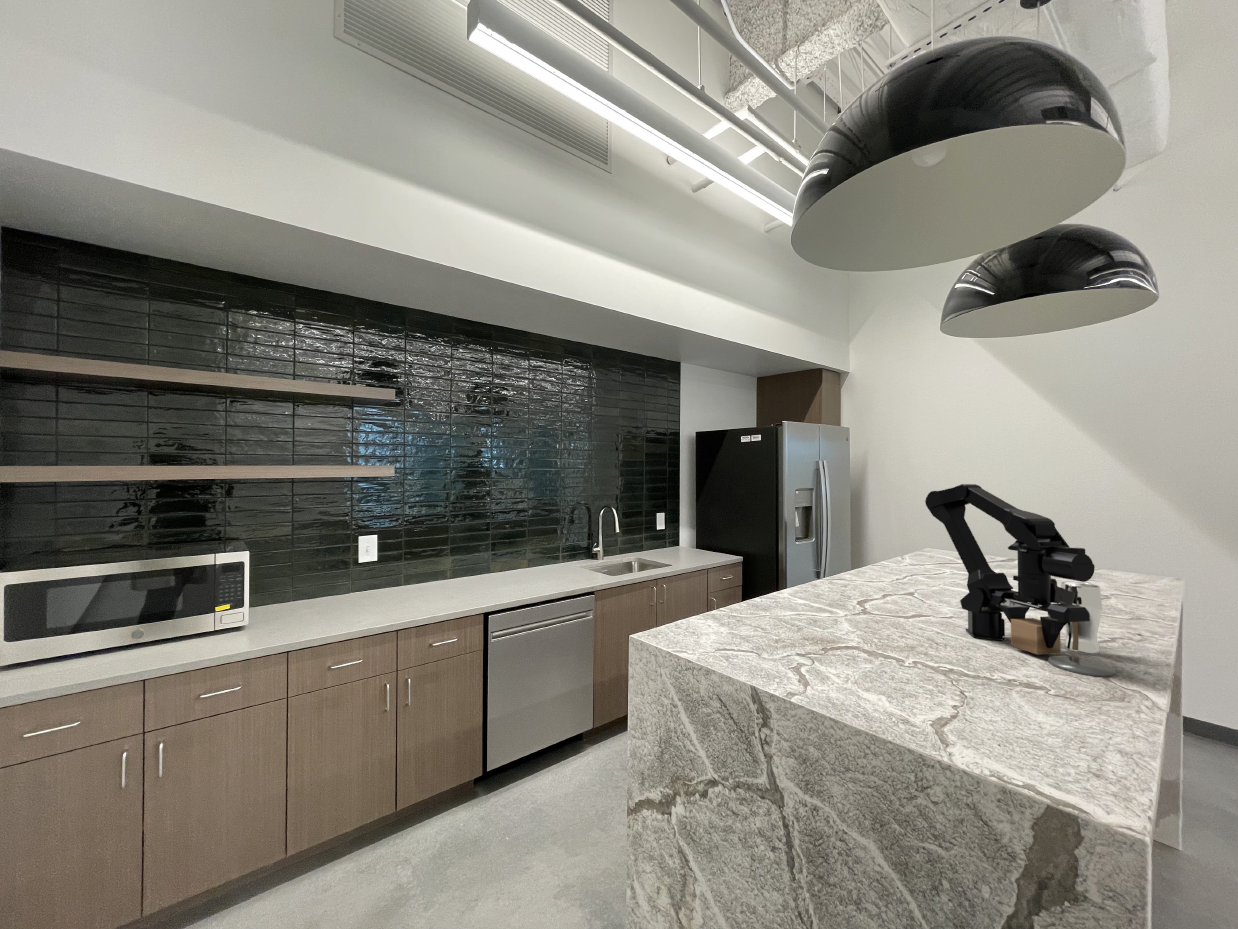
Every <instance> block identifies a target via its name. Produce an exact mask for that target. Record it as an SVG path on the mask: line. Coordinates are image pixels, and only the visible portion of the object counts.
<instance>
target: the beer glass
mask: <svg viewBox="0 0 1238 929" xmlns="http://www.w3.org/2000/svg"><path fill="white" fill-rule="evenodd" d="M1060 587H1061V588H1064V589H1066V590H1069V591H1071V592H1074V593H1075V597H1074V600H1073V605H1077V606H1082V607H1085V608H1086V609H1087V610H1088V611H1089V613H1090V621H1085V622H1069V623H1067V624H1066V625H1065V626H1064V628H1065V638H1064V642H1063V648H1064V649H1065V650H1066V651H1069V652H1072V653H1076V654H1079V655H1080V654H1082V655H1087V656H1098V655H1100V654H1101V650H1100V647H1099V641H1098V632H1099V627H1100V623H1101V618H1102V611H1103V610H1102V609H1103V603H1102V601H1103V600H1102V593H1101V586H1100V585H1097V584H1094V583H1093V584H1092V583H1089V582H1088V583H1087V582H1081V581H1062V582H1060ZM1059 604H1061V603H1059Z"/></svg>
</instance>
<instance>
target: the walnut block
mask: <svg viewBox="0 0 1238 929" xmlns="http://www.w3.org/2000/svg"><path fill="white" fill-rule="evenodd" d="M1010 643H1011V645H1010V646H1012V647H1014V648H1016V649H1020V650H1023V651H1026V652H1029V653H1031V654H1033V655H1052V654H1053V655H1054V654H1061V652H1062V651H1061V650H1062V648H1061V632H1060V633H1059V635H1058V638H1057V640H1056V642H1055V644H1054V646H1053V648H1047V646H1046V643H1045V640H1044V635H1043V630H1042V625H1041V620H1040V619H1037V618H1034V617H1029V618H1028V617H1027V618H1026V617H1025V618H1023V619H1011V623H1010Z"/></svg>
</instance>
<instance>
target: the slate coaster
mask: <svg viewBox="0 0 1238 929" xmlns="http://www.w3.org/2000/svg"><path fill="white" fill-rule="evenodd" d="M1048 663H1049V664H1050V665H1052V666H1053V667H1055V668H1057V669H1061V670H1063V671H1066V672H1070V673H1074V674H1079V675H1084V676H1089V677H1096V678H1097V677H1098V678H1100V677H1101V678H1106V677H1107V678H1108V677H1114V676H1115V673H1116V672H1115V669H1114V668H1112V667H1110V666H1109V665H1106V664H1104V663H1101V662H1099V661H1093V660H1091V659H1087V658H1081V657H1076V656H1075V657H1074V656H1068V655H1066V656H1065V655H1053V656H1049V657H1048Z"/></svg>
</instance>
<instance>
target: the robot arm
mask: <svg viewBox="0 0 1238 929" xmlns="http://www.w3.org/2000/svg"><path fill="white" fill-rule="evenodd" d="M924 501H925V502H924V503H925V506H926V508H927V509H928V510H929V513H930V514H931V516H932V517H934V518H935V519H936V520H938V521H939V522H940V523H942V524H943V526H944V528H945V530H946V531H947V533H948V535H949V538H950V540H951V542H952V544H953V546H954V548H955V550H956V552H957V554H958V557H959V558H960V560H961V562H962V564H963V566H964V568H965V570H966V572H967V575H968V576H967V582H966V587H967V590H968V592H967V594H965V595H964V596H963V597H962V598H961V599H960V601H959V603H960V605H961V608H962V610H965V611H967V628H965V631H966V633H968V635H970V636H971V637H973V638H976V639H984V640H996V641H1006V638H1005V637H1006V636H1005V635H1006V634H1005V633H1006V631H1005V629H1006V628H1005V626H1006V625H1005V624H1006V623H1005V622H1006V621H1005V619H1004V618H1003V614H1004V615H1005V616H1006V618H1007V620H1008V622H1009V624H1011V619H1023V618H1026V614H1027V613H1028V612H1029V610H1030V608H1031V609H1034V610H1039V611H1043V612H1046V613H1047V616H1040V617H1039V620H1041V625H1042V630H1043V635H1044V640H1045V643H1046V646H1047V648H1053V646H1054V644H1055V642H1056V640H1057V638H1058V635H1059V633H1060V634H1061V632H1062V630H1063V628H1065V625H1066V624H1067V623H1069V622H1085V621H1090V613H1089V611H1088V610H1087V609H1086V608H1085V607H1082V606H1077V605H1073V600H1074V597H1075V593H1074V592H1071V591H1069V590H1066V589H1064V588H1061V586H1058V582H1057V579H1056V578H1060V579H1066V580H1071V581H1074V582H1081V583H1086V582H1088V581H1089V580H1090V579H1092V578H1093V576H1094V573H1095V564H1094V562H1093V560H1092V558H1091V557H1090V556H1089V555H1088V554H1086V549H1085V548H1083V547H1070V545H1069V544H1068V543H1067V541H1066V540H1065V539H1064V537H1063V536H1062V534H1061V533H1060V532H1059V530H1058V529H1057V527H1056V526H1055V525H1056V523H1055V522H1054V521H1053V520H1052V519H1051V518H1049V517H1046V516H1043V515H1042V514H1041V515H1040V514H1038V513H1035V512H1030V511H1026V510H1022V509H1019V508H1017V507H1016V506H1014V505H1012V504H1011V503H1009V502H1006V501H1005V500H1003V499H1002V498H999V497H997V496H996V495H994V494H992V493H991V492H989V491H988V490H985V489H984V488H982V487H981V485H978V484H976V483H975V484H974V483H972V484H971V483H970V484H969V483H967V484H966V483H962V484H959V485H956V486H954V487H950V488H945V489H942V490H932V491H930V492H928V494H927V496H926V497H925V500H924ZM967 505H972V506H973V507H975V508H976V509H979V510H980V511H981V512H983V513H985V514H986V515H988V516H989V517H991V518H993V519H995V520H996V521H998V522H999V523H1000V524H1001V525H1002V526H1003V528H1004V530H1005V532H1006V533H1008V534H1009V535H1010V536H1011V537H1013V538H1014V539H1015V542H1014V543H1012V544H1010V545H1009V546H1007V549H1008V550H1009V551H1016V552H1017V575H1012V580H1013V581H1016V582H1017V591H1016V590H1013V589H1014V587H1013V586H1012V585H1011V584H1010V582H1009V579H1008V577H1007V575H1006V574H1005V572H996V571H994V570H993V569H992V567H991V566H990V565H989V563H988V560H987V559H986V556H985V554H984V553H983V551H982V549H981V547H980V545H979V544H978V541H977V540H976V538H975V536H974V534H973V532H972V530H971V528H970V526H969V524H968V522H967V521H966V519H965V518H966V517H965V516H966V506H967ZM1053 577H1054V578H1053ZM1060 603H1061V604H1060Z"/></svg>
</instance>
